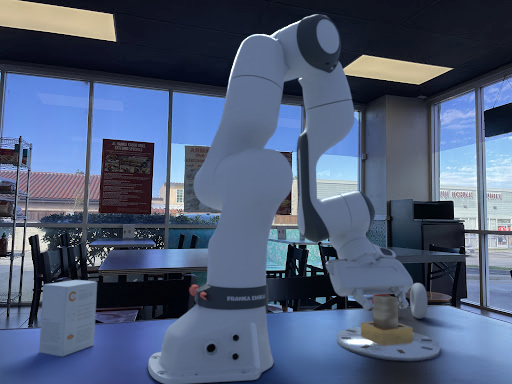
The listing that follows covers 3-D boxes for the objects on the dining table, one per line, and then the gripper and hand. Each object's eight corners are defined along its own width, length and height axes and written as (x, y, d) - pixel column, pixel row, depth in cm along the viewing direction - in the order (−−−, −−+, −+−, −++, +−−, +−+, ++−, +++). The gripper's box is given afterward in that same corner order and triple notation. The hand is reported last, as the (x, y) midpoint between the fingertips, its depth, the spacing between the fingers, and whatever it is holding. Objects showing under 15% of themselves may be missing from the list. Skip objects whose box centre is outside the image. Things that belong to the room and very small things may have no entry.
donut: (429, 322, 107) (428, 285, 108) (415, 321, 107) (415, 284, 108) (421, 315, 116) (420, 280, 117) (409, 314, 117) (408, 280, 118)
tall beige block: (383, 342, 83) (383, 298, 84) (373, 337, 86) (373, 296, 87) (398, 340, 84) (397, 297, 85) (388, 336, 87) (387, 295, 88)
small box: (71, 341, 83) (75, 279, 84) (94, 345, 80) (98, 281, 82) (37, 352, 75) (42, 283, 76) (62, 357, 73) (66, 286, 74)
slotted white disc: (379, 366, 72) (379, 342, 72) (319, 336, 91) (319, 317, 91) (463, 354, 79) (462, 333, 80) (391, 329, 99) (390, 312, 99)
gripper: (328, 250, 90) (354, 302, 80) (398, 250, 97) (430, 297, 87) (318, 268, 93) (341, 319, 83) (386, 267, 101) (415, 313, 91)
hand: (387, 308), depth 85 cm, fingers open, 8 cm apart
